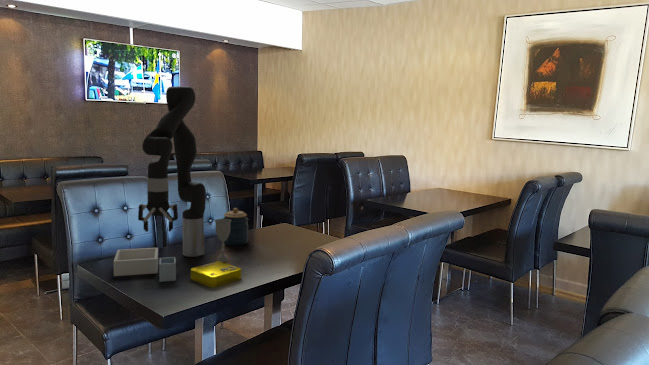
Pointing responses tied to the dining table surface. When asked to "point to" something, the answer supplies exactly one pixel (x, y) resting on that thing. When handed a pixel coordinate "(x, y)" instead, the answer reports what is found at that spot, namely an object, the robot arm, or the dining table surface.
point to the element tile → (215, 274)
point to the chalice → (223, 235)
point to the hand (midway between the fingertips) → (158, 231)
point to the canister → (237, 227)
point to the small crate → (167, 269)
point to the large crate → (136, 261)
